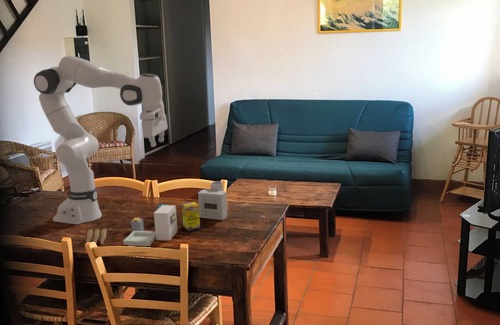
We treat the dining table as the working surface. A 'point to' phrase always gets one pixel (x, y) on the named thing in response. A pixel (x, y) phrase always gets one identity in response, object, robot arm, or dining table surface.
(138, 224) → the relay block
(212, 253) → the dining table surface
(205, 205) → the thermostat
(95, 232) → the ammunition
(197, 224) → the supplement box
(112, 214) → the dining table surface
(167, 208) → the box
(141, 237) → the tray
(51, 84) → the robot arm
